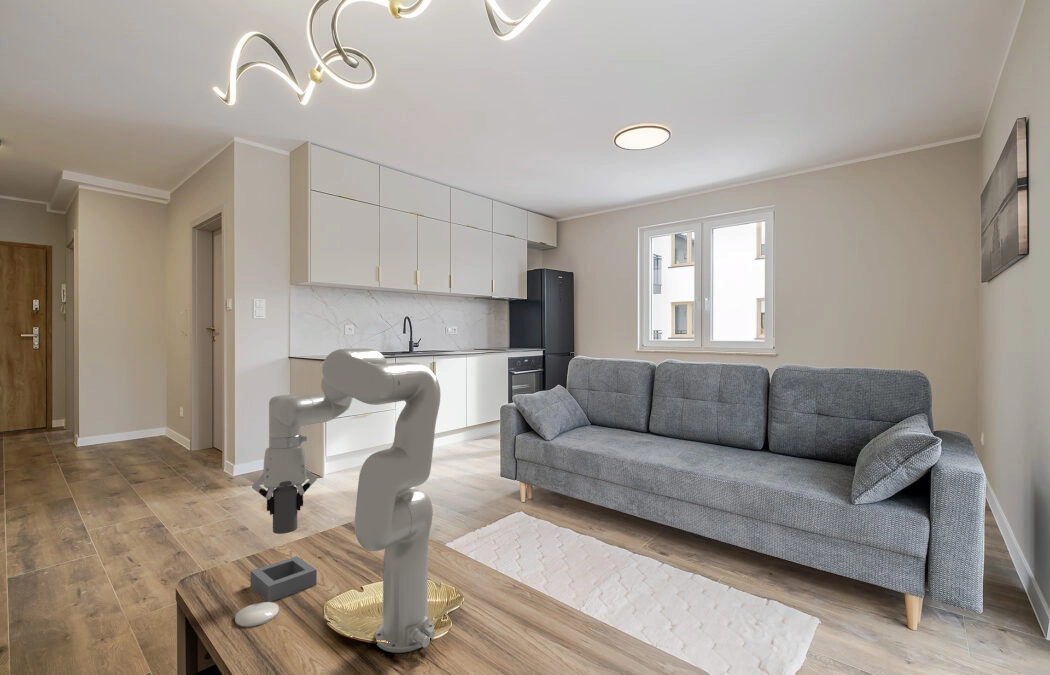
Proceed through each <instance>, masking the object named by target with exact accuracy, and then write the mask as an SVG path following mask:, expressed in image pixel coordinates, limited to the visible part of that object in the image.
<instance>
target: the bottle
mask: <svg viewBox="0 0 1050 675" xmlns="http://www.w3.org/2000/svg"><path fill="white" fill-rule="evenodd" d="M291 484H292V483H291V481H286V482H281V483H280V484H279V486H282V487H278V488H274V491H273V493H272V497H273V514H272V532H273V533H274V534H277V535H283V534H289V533H292V532H295V531H296V530H297V529H298V510H297V493H298V489H297V487H296V485H294V486H287V485H291Z"/></svg>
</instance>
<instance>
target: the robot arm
mask: <svg viewBox="0 0 1050 675" xmlns="http://www.w3.org/2000/svg"><path fill="white" fill-rule="evenodd" d="M321 368H322V369H321V370H322V371H321V373H322V376H323V377H322V379H321V386H320V387H321V390H322V392H323V393H320V394H311V395H302V396H298V395H295V394H283V395H275V396H272V397H270V399H269V402H268V419H269V420H268V447H267V448H265V451H264V452H265V453H264V457H263V469H262V470H263V472H262V474H261V475H260V476H259V477H258V479H257V480H256V481H254V482H253V483H252V485H251V489H253V490H254V491H256V493H258V494H260V496H262V497H263V498H265V500H266V512H269V515H270V516H273V491H274V489H276V488H278V487H282V486H279V484H280V483H281V482H286V481H291V483H292V484H291V485H287V486H295V487H297V512H298V511H301V507H303V506H304V494H305V493H306V492H307V491H308V489H310V487H311V486H312V485H313V484H314V483H315V482H316V481H317V476H316V475H314V474H313V473H312V472H311V471H310V470H309V469H308V468H307V462H306V453H305V452H306V451H305V447H304V445H303V444H302V443H303V442H308V438H307V436H306V435H305V436H304V435H303V434H302V433H301V432H302V431H301V430H302V429H301V428H302V427H303V426H304V427H305V426H310V425H316V424H322V423H326V422H330V421H332V420H334V419H336V418H338V417H339V416H341V415H342V414H344V413H345V412H347V410H349V408H350V407H351V404H352V401H353V399H355V400H357V401H359V402H361V403H364V404H367V405H373V406H374V405H375V406H376V405H377V406H379V405H385V404H391V403H399V402H403V401H404V402H405V405H404V407H403V408H402V410H401V412H400V413H399V415H398V417H397V420H396V423H395V426H394V427H395V428H394V437H393V443H392V445H391V446H390V447H389V448H386V449H382V450H378V451H375V452H374V453H372V454H371V455H369V456H368V457H366V459H365V460H364V462H363V464H362V465H361V469H360V472H359V476H358V484H357V494H356V502H355V503H356V506H355V516H354V531H355V537H356V538H357V541H358V544H359V545H360V546H361V548H363V549H364V550H366V551H369V552H379V551H382V550H384V552H383V562H382V564H383V566H382V567H383V570H382V572H383V573H382V577H383V578H382V623H381V624H380V626H378V628H377V629H376V631H375V634H374V635H375V636H374V638H376V640H380V641H381V640H386V641H388V643H385V642H378V643H377V644H376V645H377V646H378V648H380V649H382V650H383V651H386V652H390V653H398V654H399V653H402V654H403V653H409V652H412V651H416V650H418V649H420V648H425V649H426V648H427V647H428V646H429V644H430V641H431V640H430V639H429V638H432V639H433V638H434V637H435V635H436V633H435V625H434V622H433V621H432V619H430V618H429V616H428V576H429V575H428V574H429V572H428V569H429V568H428V566H429V540H430V533H431V527H432V522H433V512H434V509H433V504H432V502H431V499H430V498H429V496H428V495H427V494H426V493H425V492H424V491H423V490H419V489H416V488H417V487H419V486H421V485H423V484H424V483H425V482H426V481H427V480H428V479H429V477H430V474H431V469H432V463H433V462H432V460H433V452H434V443H435V433H436V424H437V418H438V414H439V410H440V406H441V405H440V403H441V387H440V383H439V380H438V379H437V376H436V374H435V373H434V372H433V371H432V370H431V369H430V368H429V367H428V366H426V365H424V364H421V363H419V362H410V361H409V362H405V361H404V362H392V363H387V359H386V357H385V356H384V355H383V354H382V353H381V352H379V351H378V350H376V349H373V348H339V349H335V350H334V351H331V352H330V353H329V354H328V355H327V356H326V357H325V358H324V360H323V363H322V367H321ZM307 478H308V480H307ZM262 483H263V486H264V487H262V486H261V484H262ZM265 488H266V489H265ZM389 642H390V643H389Z"/></svg>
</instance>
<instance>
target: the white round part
mask: <svg viewBox="0 0 1050 675" xmlns="http://www.w3.org/2000/svg"><path fill="white" fill-rule="evenodd" d="M279 609H280V607H279V605H278V604H277V603H275V602H273V601H272V602H267V601H261V602H258V603H253V604H249V605H248V606H247V605H246V606H245V607H243V608H241V609H240V610H239V611H238V612H236V614H235V615H234V622H235V623H234V624H235V625H237V626H239V627H241V628H243V627H244V628H250V627H251V628H252V627H257V626H260V625H264V624H266V623H269V622H270V621H272V620H274V619H275V618H276V617H277V616H278V614H279V611H280V610H279Z"/></svg>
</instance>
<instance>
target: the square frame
mask: <svg viewBox="0 0 1050 675" xmlns="http://www.w3.org/2000/svg"><path fill="white" fill-rule="evenodd" d="M317 571H318V570H317V569H316V568H315V567H314V566H312V565H311V564H309V563H308V562H307V561H305V560H303V559H302V558H301V557H299V556H298V555H296V556H293V557H289V558H286V559H283V560H280V561H277V562H273V563H271V564H268V565H265V566H261V567H258V568H255V569H253V570H250V587H251V586H252V587H253V588H254V589H255V590H256V591H257V592H258V593H257V592H256V591H255V592H256V593H257V594H258V595H259V596H261V597H262V599H263V600H265V602H267V601H268V602H272V603H273V602H274V601H278V600H280V599H283V598H285V597H289V596H291V595H293V594H296V593H299V592H302V591H304V590H306V589H309V588H312V587H314V586H317V582H318V581H317V577H318V576H317ZM252 587H251V588H252ZM253 588H252V589H253ZM254 589H253V590H254Z"/></svg>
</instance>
